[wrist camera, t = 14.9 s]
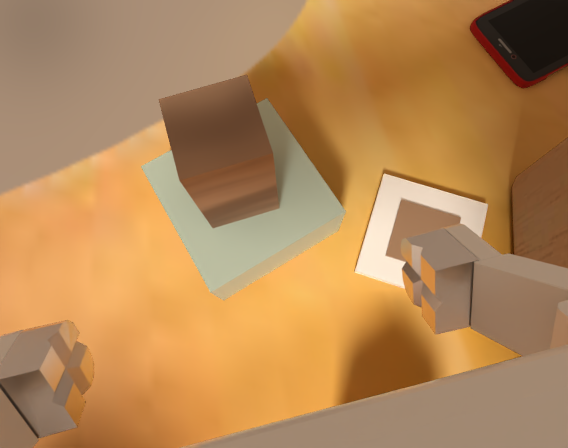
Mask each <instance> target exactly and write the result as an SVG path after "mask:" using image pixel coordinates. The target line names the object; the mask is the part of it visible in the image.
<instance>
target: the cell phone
mask: <svg viewBox="0 0 568 448" xmlns="http://www.w3.org/2000/svg"><path fill="white" fill-rule="evenodd" d="M470 30H471V32H472V34H473V35H474V37H475V38H476V39H477V40H478V41H479V43H480V44H481V45H482V46H483V47H484V49H485V50H486V51H487V52H488V53H489V54H490V56H491V57H492V58H493V59H494V60H495V62H496V63H497V64H498V65H499V66H500V68H501V69H502V70H503V71H504V72H505V73H506V75H507V76H508V77H509V78H510V79H511V80H512V82H513V83H514V84H516V85H517V86H518V87H521V88H527V87H530V86H532V85H534V84H536V83H538V82H540V81H542V80H544V79H546V78H547V77H548V76H549V75H551V74H553V73H555V72H556V71H558V70H560V69H562V68H564V67H566V66H568V0H510V1H508V2H506V3H504V4H502V5H500V6H498V7H496V8H494V9H492V10H490V11H488V12H486V13H484V14H482V15H481V16H479V17H477V18H476V19H475V20H474V21H473V22H472V24H471V26H470Z"/></svg>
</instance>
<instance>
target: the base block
mask: <svg viewBox="0 0 568 448" xmlns="http://www.w3.org/2000/svg"><path fill="white" fill-rule="evenodd" d="M257 106H258V109H259V112H260V115H261V118H262V121H263V124H264V127H265V130H266V133H267V136H268V139H269V142H270V145H271V148H272V151H273V157H274V166H275V174H276V183H277V192H278V201H279V209H276V210H272V211H269V212H266V213H263V214H259V215H256V216H253V217H249V218H246V219H243V220H239V221H236V222H233V223H229V224H226V225H223V226H220V227H216V228H212V227H211V225H210V224H209V222H208V221H207V219H206V218H205V217H204V215H203V214H202V212H201V211H200V209H199V208H198V207H197V205H196V204H195V202H194V201H193V199H192V198H191V197H190V195H189V194H188V192H187V191H186V189H185V188H184V187H183V185H182V184H181V182H180V181H179V177H178V173H177V170H176V166H175V162H174V158H173V154H172V150H170V151H169V152H167V153H165V154H163V155H161V156H159V157H158V158H156V159H154V160H152V161H150V162H148V163H147V164H145V165H143V166H141V168H142V169H143V171H144V173H145V175H146V177H147V178H148V180H149V182H150V184H151V186H152V187H153V189H154V191H155V193H156V195H157V196H158V198H159V200H160V202H161V204H162V205H163V207H164V209H165V211H166V213H167V215H168V216H169V218H170V220H171V222H172V224H173V225H174V227H175V229H176V231H177V233H178V234H179V236H180V238H181V240H182V242H183V243H184V245H185V247H186V249H187V251H188V252H189V254H190V256H191V258H192V260H193V261H194V263H195V265H196V267H197V269H198V270H199V272H200V274H201V276H202V278H203V280H204V281H205V283H206V285H207V287H208V289H209V290H210V292H211V293H212V294H214V295H215V296H217V297H219V298H220V299H222V300H225V299H227V298H228V297H230V296H232V295H233V294H235V293H237V292H238V291H240V290H242V289H243V288H245V287H247V286H248V285H250V284H251V283H253V282H255V281H256V280H258V279H260V278H261V277H263V276H265V275H266V274H268V273H270V272H271V271H273V270H275V269H276V268H278V267H279V266H281V265H283V264H284V263H286V262H288V261H289V260H291V259H293V258H294V257H296V256H298V255H299V254H301V253H303V252H304V251H306V250H307V249H309V248H311V247H312V246H314V245H316V244H317V243H319V242H321V241H322V240H324V239H326V238H327V237H329V236H331V235H332V234H334V233H335V232H337V231H338V230H339V228H340V225H341V223H342V220H343V217H344V215H345V212H346V211H345V210H344V208H343V207H342V205H341V204H340V202H339V201H338V199H337V198H336V197H335V195H334V194H333V192H332V191H331V189H330V188H329V186H328V185H327V184H326V182H325V181H324V179H323V178H322V176H321V175H320V174H319V172H318V171H317V169H316V168H315V166H314V165H313V163H312V162H311V161H310V159H309V158H308V156H307V155H306V153H305V152H304V150H303V149H302V148H301V146H300V145H299V143H298V142H297V140H296V139H295V137H294V136H293V135H292V133H291V132H290V130H289V129H288V127H287V126H286V125H285V123H284V122H283V120H282V119H281V117H280V116H279V114H278V113H277V112H276V110H275V109H274V107H273V106H272V104H271V103H270V101H269V100H268V99H267V98H266V99H264V100H263V101H261V102H259V103H257Z"/></svg>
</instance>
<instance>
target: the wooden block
mask: <svg viewBox="0 0 568 448" xmlns="http://www.w3.org/2000/svg"><path fill="white" fill-rule="evenodd" d="M512 204H513V235H514V255H517V256H521V257H525V258H529V259H533V260H537V261H541V262H544V263H548V264H552V265H556V266H560V267H564V268H568V138H566V139H565V140H564V141H563V142H561V143H560V144H559V145H557V146H556V147H555V148H553V149H552V150H551V151H549V152H548V153H547V154H546V155H544V156H543V157H542V158H540V159H539V160H538V161H536V162H535V163H534V164H532V165H531V166H530V167H529V168H527V169H526V170H525V171H523V172H522V173H521V174H519V175H518V176H517V177H516V179H515V181H514V183H513V186H512Z"/></svg>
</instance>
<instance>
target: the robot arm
mask: <svg viewBox="0 0 568 448" xmlns="http://www.w3.org/2000/svg"><path fill="white" fill-rule="evenodd" d="M401 254H402V256H403V257H404V258H405V259H406V263H405V264H404V266H403V267H402V277H403V282H404V286H405V290H406V292H407V294H408V296H409V298H410V299H411V301H412V302H413V304H415V305H417V306H419V307H422V317H423V318H424V319H425V321H426V322H427V323H428V325H429V326H430V328H431V329H432V330H433V332H434V333H435V335H436V334H440V333H444V332H449V331H453V330H457V329H462V328H466V327H470V326H471V329H473V330H475V331H477V332H479V333H481V334H483V335H484V336H486V337H488V338H490V339H492V340H494V341H496V342H498V343H499V344H501V345H503V346H505V347H507V348H509V349H511V350H513V351H514V352H516V353H518V354H520V355H522V357H519V358H515V359H511V360H507V361H504V362H500V363H496V364H492V365H489V366H485V367H481V368H478V369H474V370H470V371H467V372H463V373H459V374H455V375H452V376H448V377H444V378H440V379H436V380H433V381H429V382H425V383H421V384H417V385H414V386H410V387H406V388H402V389H399V390H395V391H391V392H387V393H383V394H380V395H376V396H372V397H368V398H364V399H361V400H357V401H353V402H349V403H345V404H342V405H338V406H334V407H330V408H327V409H323V410H319V411H315V412H311V413H308V414H304V415H300V416H296V417H293V418H289V419H285V420H281V421H278V422H274V423H270V424H266V425H263V426H259V427H255V428H251V429H248V430H244V431H240V432H236V433H233V434H229V435H225V436H221V437H218V438H214V439H210V440H206V441H203V442H199V443H195V444H191V445H188V446H184V447H180V448H568V268H564V267H560V266H556V265H552V264H548V263H544V262H541V261H537V260H533V259H529V258H525V257H521V256H517V255H513V254H509V253H508V254H504V255H502V254H501V253H499V252H498V251H497V250H496V249H494V248H493V247H492V246H491V245H489V244H488V243H487V242H486V241H484V240H483V239H482V238H481V237H479V236H478V235H477V234H476V233H474V232H473V231H472V230H471V229H469V228H468V227H467V226H466V225H464V224H460V223H459V224H456V225H452V226H449V227H445V228H441V229H439V230H435V231H431V232H427V233H424V234H420V235H416V236H412V237H408V238H405V239H402V241H401ZM78 336H79V331H78V329H77V328H76V326H75V325H74V323H73V322H71V321H68V320H65V321H61V322H56V323H52V324H47V325H43V326H38V327H34V328H29V329H25V330H20V331H16V332H12V333H8V334H4V335H2V336H0V448H33V447H34V446H35V444H36V443H37V442H38V441H39V439H38V438H41V437H45V436H48V435H52V434H55V433H59V432H62V431H66V430H69V429H73V428H76V427H78V424H79V421H80V418H81V415H82V412H83V409H84V406H85V403H86V401H85V400H84V398H83V396H82V395H83V394H84V393H85V392H86V391H87V389H88V388H89V387H90V386H91V384H92V381H93V377H94V362H93V358H92V355H91V353H90V351H89V349H88V347H87V346H85V345H83V344H81V343H79V342H77V339H78Z"/></svg>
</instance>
